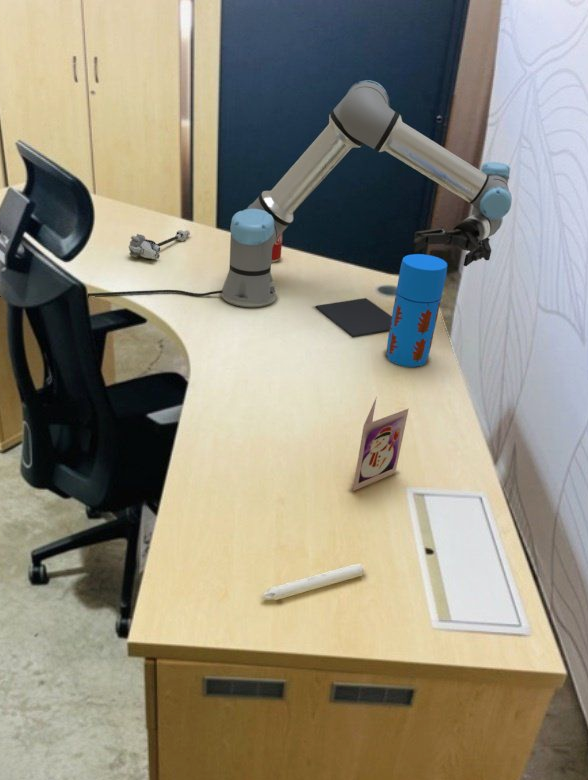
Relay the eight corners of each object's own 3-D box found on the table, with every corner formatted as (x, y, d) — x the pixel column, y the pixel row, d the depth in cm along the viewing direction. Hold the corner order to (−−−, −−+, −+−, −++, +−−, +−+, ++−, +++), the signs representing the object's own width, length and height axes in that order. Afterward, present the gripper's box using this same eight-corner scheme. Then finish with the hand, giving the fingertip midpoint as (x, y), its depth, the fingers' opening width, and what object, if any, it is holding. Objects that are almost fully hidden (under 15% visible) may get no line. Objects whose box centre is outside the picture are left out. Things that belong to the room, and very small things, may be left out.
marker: (264, 606, 119) (265, 595, 117) (258, 597, 120) (259, 586, 119) (362, 577, 125) (364, 567, 124) (356, 569, 127) (358, 559, 125)
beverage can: (280, 263, 240) (283, 226, 233) (260, 262, 240) (263, 224, 233) (280, 256, 245) (283, 219, 238) (261, 255, 245) (263, 218, 238)
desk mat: (352, 337, 200) (353, 335, 199) (315, 307, 214) (315, 305, 213) (405, 328, 206) (405, 326, 206) (365, 299, 220) (365, 298, 220)
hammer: (201, 227, 252) (154, 246, 228) (198, 246, 256) (151, 267, 232) (175, 217, 254) (126, 236, 231) (173, 237, 258) (124, 257, 234)
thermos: (430, 352, 195) (451, 258, 180) (424, 370, 187) (445, 273, 172) (389, 344, 197) (406, 251, 183) (381, 361, 189) (398, 265, 175)
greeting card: (355, 493, 144) (367, 427, 135) (330, 473, 149) (340, 408, 140) (398, 475, 150) (412, 410, 141) (372, 456, 155) (384, 393, 146)
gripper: (513, 257, 196) (485, 281, 182) (424, 236, 207) (391, 256, 192) (520, 228, 192) (492, 250, 177) (429, 208, 203) (395, 227, 188)
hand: (439, 254), depth 185 cm, fingers open, 13 cm apart
